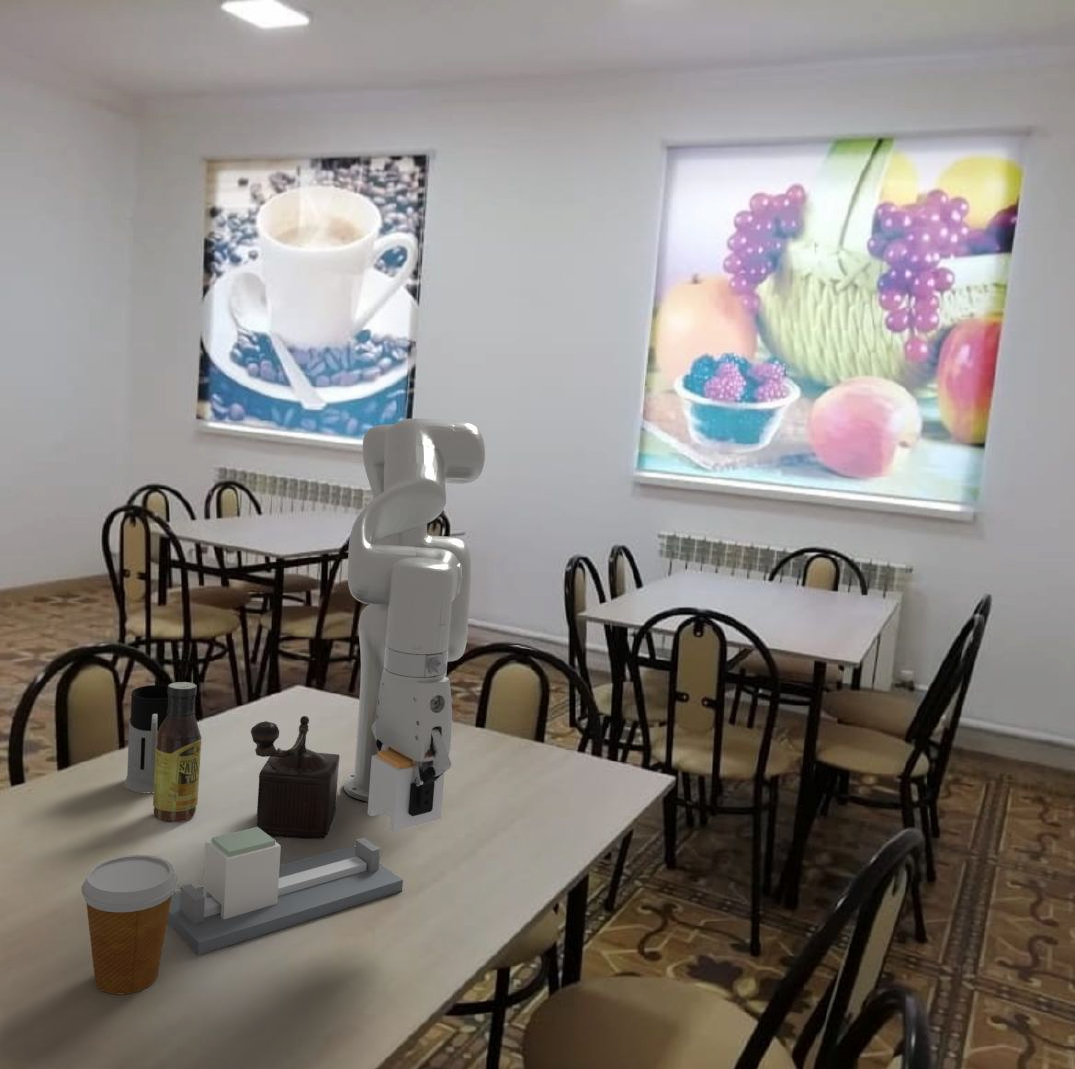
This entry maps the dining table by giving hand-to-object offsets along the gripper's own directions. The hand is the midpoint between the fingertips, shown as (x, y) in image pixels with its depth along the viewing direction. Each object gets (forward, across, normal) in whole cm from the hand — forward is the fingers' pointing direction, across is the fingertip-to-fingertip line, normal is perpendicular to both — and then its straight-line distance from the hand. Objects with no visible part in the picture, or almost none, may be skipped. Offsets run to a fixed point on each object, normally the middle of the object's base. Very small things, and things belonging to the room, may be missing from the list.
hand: (405, 802), depth 124 cm
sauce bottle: (+16, +42, +10) cm, 47 cm away
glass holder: (+16, +53, +9) cm, 57 cm away
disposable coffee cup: (+15, +5, +31) cm, 35 cm away
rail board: (+15, +11, +9) cm, 21 cm away
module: (+2, 0, 0) cm, 2 cm away
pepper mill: (+16, +29, -2) cm, 34 cm away
